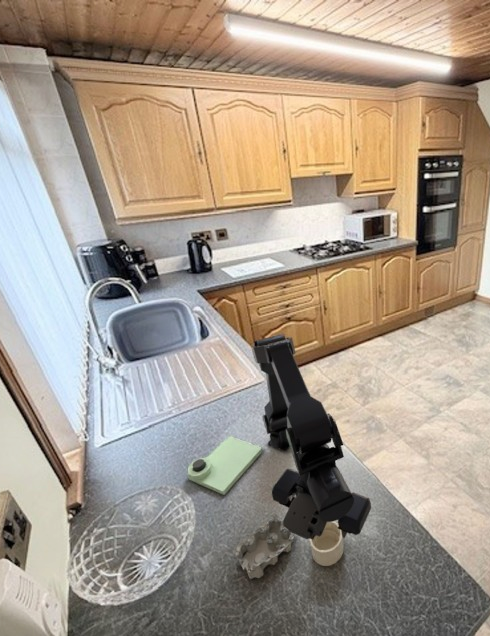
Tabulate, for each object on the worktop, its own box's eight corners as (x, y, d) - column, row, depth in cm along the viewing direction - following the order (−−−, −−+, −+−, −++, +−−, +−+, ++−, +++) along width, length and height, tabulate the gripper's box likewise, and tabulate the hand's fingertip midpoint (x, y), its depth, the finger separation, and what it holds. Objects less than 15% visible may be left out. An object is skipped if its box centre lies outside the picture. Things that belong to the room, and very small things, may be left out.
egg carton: (251, 586, 67) (247, 574, 65) (235, 557, 72) (230, 545, 70) (298, 546, 73) (295, 534, 72) (279, 522, 78) (277, 510, 77)
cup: (322, 529, 76) (320, 515, 74) (349, 541, 74) (347, 526, 72) (306, 559, 71) (303, 544, 69) (334, 573, 68) (332, 557, 66)
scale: (228, 438, 102) (226, 430, 101) (263, 451, 97) (261, 443, 96) (185, 479, 90) (182, 471, 89) (223, 496, 85) (220, 488, 84)
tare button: (200, 461, 92) (198, 457, 91) (207, 465, 90) (206, 460, 90) (191, 469, 89) (189, 465, 89) (199, 473, 88) (197, 469, 88)
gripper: (245, 491, 59) (260, 546, 66) (342, 532, 52) (348, 590, 59) (283, 444, 68) (293, 498, 75) (370, 474, 61) (373, 530, 68)
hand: (324, 526), depth 69 cm, fingers open, 9 cm apart
